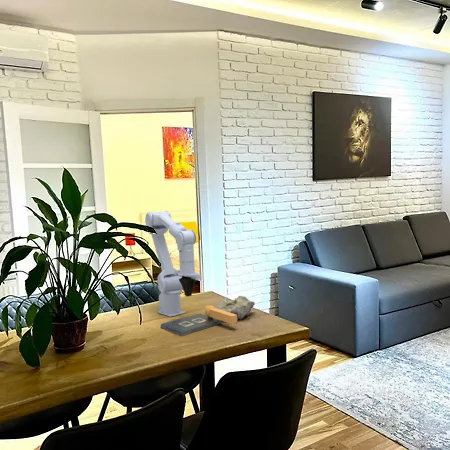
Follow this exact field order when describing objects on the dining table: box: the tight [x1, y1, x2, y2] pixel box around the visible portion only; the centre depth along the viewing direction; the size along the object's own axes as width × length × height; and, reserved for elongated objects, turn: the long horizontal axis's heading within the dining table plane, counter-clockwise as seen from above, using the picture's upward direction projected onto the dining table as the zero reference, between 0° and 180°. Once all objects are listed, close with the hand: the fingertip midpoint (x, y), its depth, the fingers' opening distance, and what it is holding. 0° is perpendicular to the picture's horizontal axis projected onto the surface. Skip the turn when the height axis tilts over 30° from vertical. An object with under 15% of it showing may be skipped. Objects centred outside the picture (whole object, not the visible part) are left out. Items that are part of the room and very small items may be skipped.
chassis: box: [160, 312, 222, 337], centre depth 176 cm, size 13×19×2 cm
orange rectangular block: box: [204, 304, 238, 325], centre depth 175 cm, size 16×4×4 cm, turn 41°
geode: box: [216, 295, 256, 321], centre depth 186 cm, size 17×9×15 cm
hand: (188, 295), depth 180 cm, fingers closed
